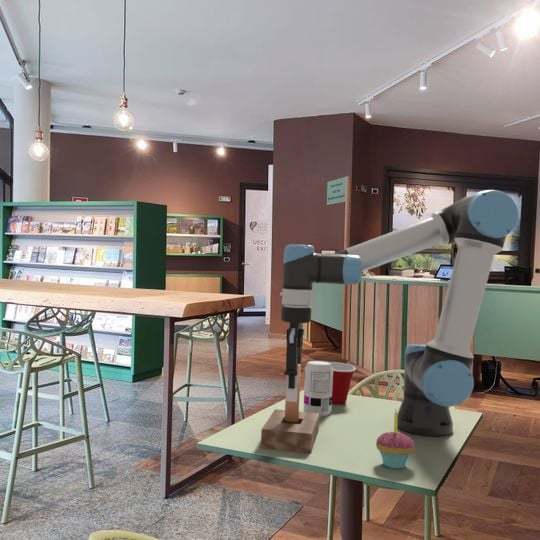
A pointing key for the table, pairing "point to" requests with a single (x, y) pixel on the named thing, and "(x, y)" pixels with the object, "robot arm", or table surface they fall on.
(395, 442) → the cupcake
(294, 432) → the hole block
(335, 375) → the plastic cup
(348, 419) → the table surface
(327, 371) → the supplement can
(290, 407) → the dowel pin
